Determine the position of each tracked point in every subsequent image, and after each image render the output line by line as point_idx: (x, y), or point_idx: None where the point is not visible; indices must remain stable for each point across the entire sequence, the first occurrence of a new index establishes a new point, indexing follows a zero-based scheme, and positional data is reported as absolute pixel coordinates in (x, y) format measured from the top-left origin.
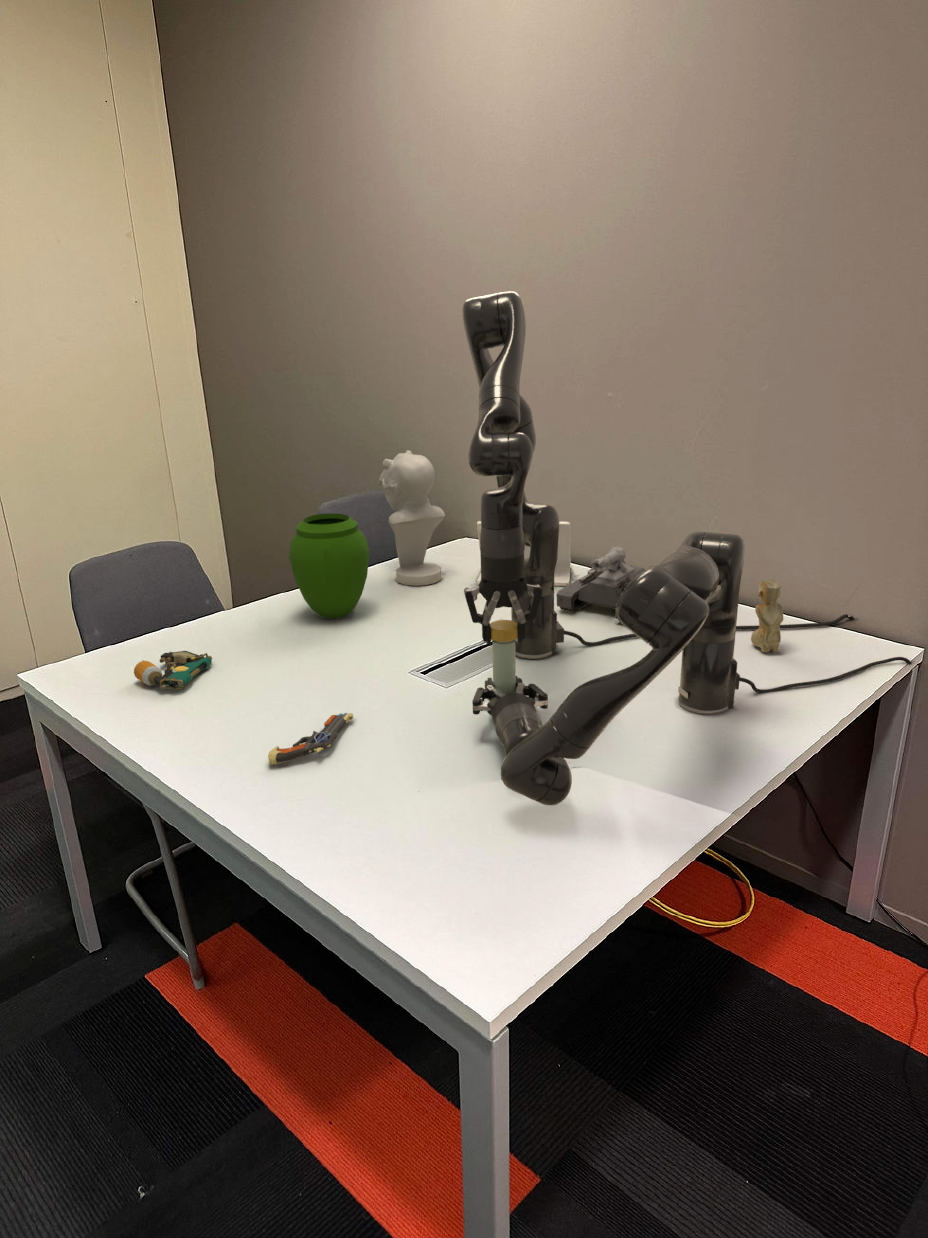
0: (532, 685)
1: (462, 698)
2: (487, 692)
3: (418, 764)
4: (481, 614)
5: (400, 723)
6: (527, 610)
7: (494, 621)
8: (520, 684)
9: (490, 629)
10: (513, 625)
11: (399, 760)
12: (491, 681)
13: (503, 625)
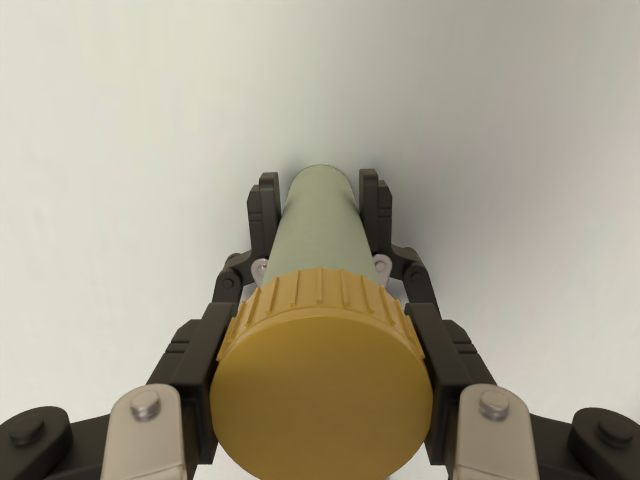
0: (418, 281)
1: (193, 20)
2: (254, 280)
3: (108, 373)
4: (97, 467)
5: (18, 178)
6: (592, 450)
7: (251, 343)
8: (376, 268)
9: (217, 441)
10: (396, 435)
11: (61, 355)
12: (271, 223)
13: (318, 428)
